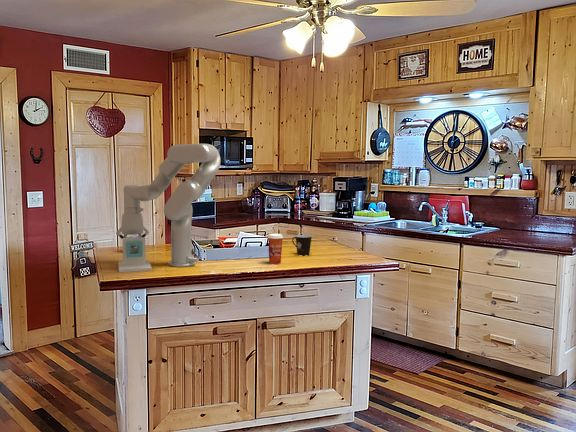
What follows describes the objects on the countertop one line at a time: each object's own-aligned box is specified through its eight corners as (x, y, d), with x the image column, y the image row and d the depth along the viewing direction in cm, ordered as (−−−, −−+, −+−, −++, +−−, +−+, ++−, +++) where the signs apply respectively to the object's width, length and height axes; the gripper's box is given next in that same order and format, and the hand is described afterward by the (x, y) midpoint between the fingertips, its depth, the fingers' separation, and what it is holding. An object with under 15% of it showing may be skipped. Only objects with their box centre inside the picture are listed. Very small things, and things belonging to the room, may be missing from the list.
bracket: (151, 270, 238) (151, 240, 236) (119, 272, 234) (118, 242, 232) (148, 262, 255) (148, 234, 253) (118, 264, 250) (117, 236, 249)
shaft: (138, 253, 239) (138, 244, 238) (131, 254, 238) (130, 244, 237) (136, 246, 257) (135, 237, 257) (129, 246, 256) (129, 237, 255)
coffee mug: (314, 255, 278) (314, 237, 277) (298, 256, 275) (299, 237, 274) (305, 251, 289) (305, 233, 287) (290, 252, 285) (290, 234, 284)
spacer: (142, 256, 242) (142, 241, 242) (126, 257, 240) (126, 242, 239) (142, 255, 244) (141, 241, 243) (126, 256, 242) (126, 241, 241)
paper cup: (269, 264, 254) (269, 236, 252) (265, 261, 261) (265, 233, 260) (284, 264, 256) (285, 235, 254) (280, 260, 263) (281, 233, 262)
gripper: (150, 209, 259) (150, 245, 261) (113, 210, 253) (114, 247, 255) (151, 211, 252) (151, 248, 254) (113, 212, 246) (114, 250, 248)
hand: (132, 247), depth 255 cm, fingers open, 5 cm apart
